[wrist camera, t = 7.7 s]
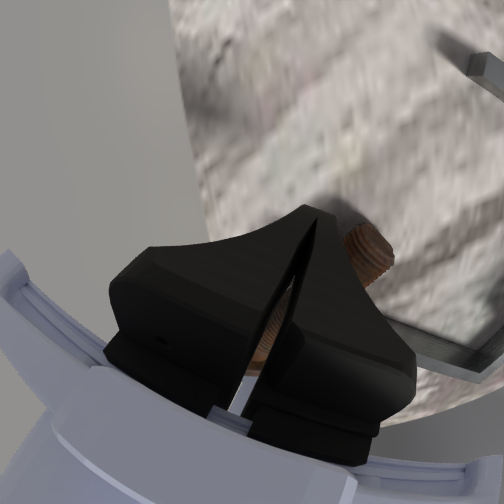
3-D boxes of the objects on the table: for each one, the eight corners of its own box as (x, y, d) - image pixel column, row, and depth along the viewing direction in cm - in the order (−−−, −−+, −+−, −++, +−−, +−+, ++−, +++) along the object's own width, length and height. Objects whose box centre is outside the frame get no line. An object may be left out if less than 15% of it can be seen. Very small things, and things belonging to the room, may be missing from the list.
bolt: (349, 234, 12) (207, 358, 21) (414, 296, 12) (257, 390, 21) (349, 195, 17) (233, 312, 25) (400, 244, 17) (275, 342, 26)
